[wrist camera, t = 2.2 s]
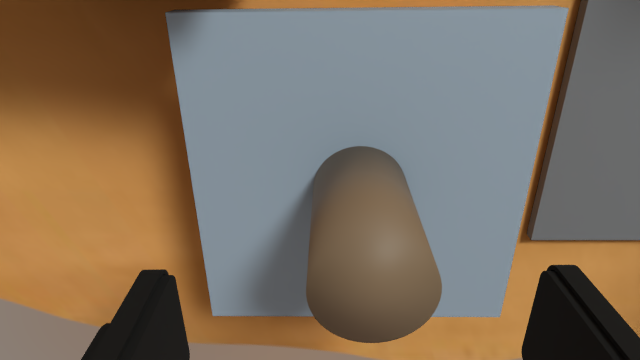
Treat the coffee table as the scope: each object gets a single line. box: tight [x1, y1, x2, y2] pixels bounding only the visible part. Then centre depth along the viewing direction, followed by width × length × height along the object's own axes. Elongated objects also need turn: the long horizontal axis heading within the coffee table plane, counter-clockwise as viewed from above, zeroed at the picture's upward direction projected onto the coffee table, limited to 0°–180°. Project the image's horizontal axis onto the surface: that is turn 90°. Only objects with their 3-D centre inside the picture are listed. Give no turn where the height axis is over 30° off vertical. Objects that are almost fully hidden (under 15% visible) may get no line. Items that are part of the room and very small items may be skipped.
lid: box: [165, 6, 569, 343], centre depth 15 cm, size 13×13×7 cm
